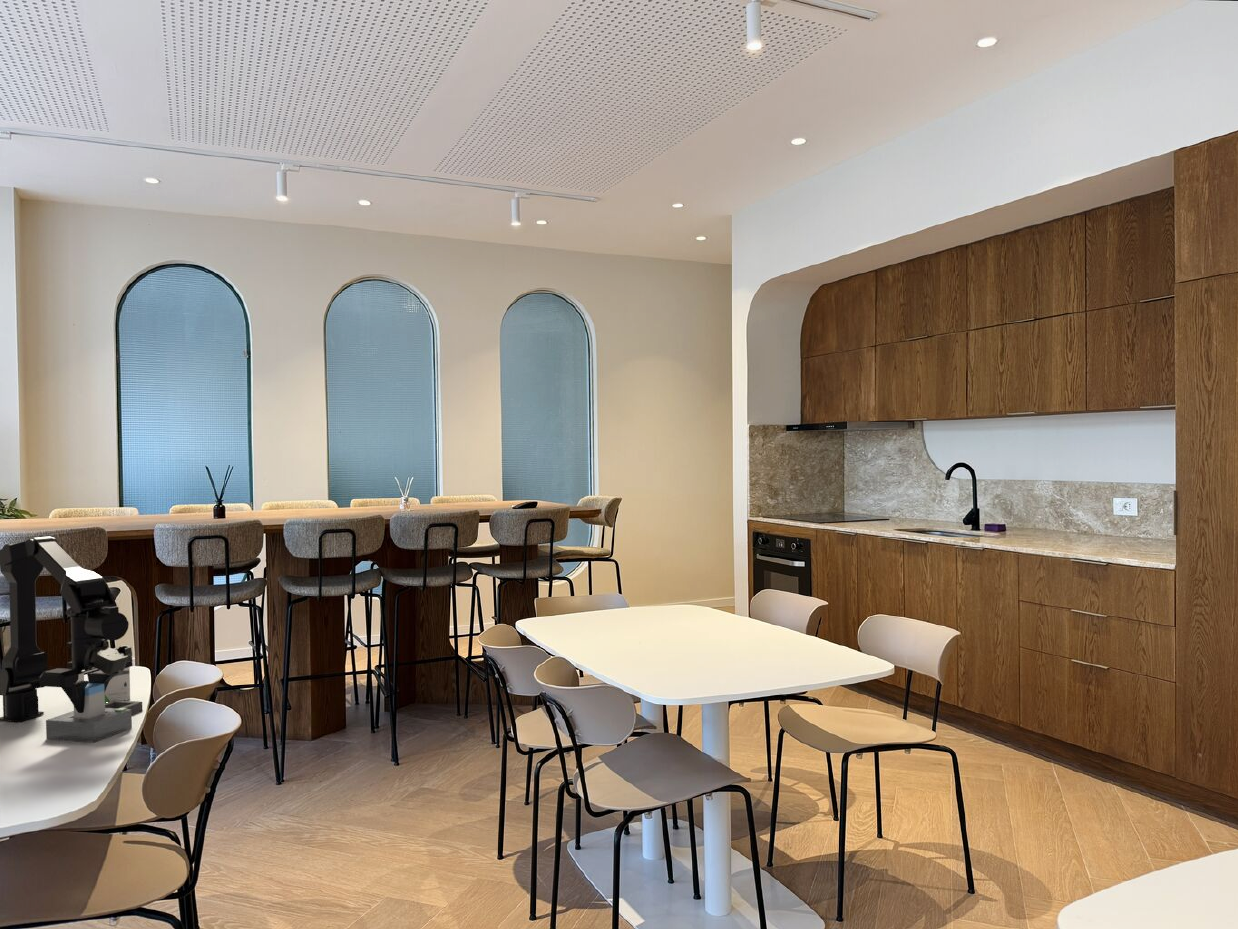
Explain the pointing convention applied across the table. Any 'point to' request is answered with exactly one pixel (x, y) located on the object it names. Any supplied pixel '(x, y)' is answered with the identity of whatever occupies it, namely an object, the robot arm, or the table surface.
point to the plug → (92, 701)
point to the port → (88, 726)
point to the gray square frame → (125, 705)
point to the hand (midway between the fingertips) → (89, 710)
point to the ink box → (119, 687)
